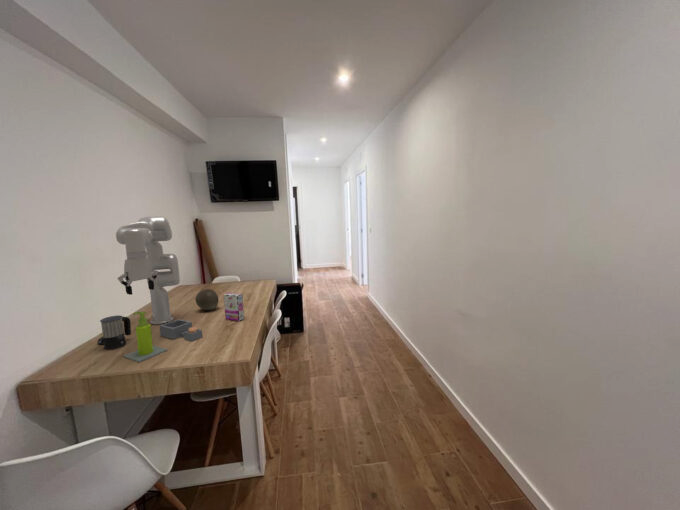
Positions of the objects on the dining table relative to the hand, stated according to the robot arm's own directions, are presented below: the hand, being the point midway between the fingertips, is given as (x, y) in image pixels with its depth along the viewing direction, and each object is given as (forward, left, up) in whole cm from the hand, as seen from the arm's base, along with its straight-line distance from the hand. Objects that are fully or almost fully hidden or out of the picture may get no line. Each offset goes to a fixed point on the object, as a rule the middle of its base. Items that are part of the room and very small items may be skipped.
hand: (140, 291), depth 139 cm
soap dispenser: (0, -2, -30) cm, 30 cm away
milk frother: (-28, -2, -30) cm, 41 cm away
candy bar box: (+4, +52, -30) cm, 60 cm away
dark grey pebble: (-29, +58, -30) cm, 71 cm away
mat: (0, -1, -30) cm, 30 cm away
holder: (-3, +21, -30) cm, 37 cm away
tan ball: (+6, +21, -28) cm, 35 cm away
